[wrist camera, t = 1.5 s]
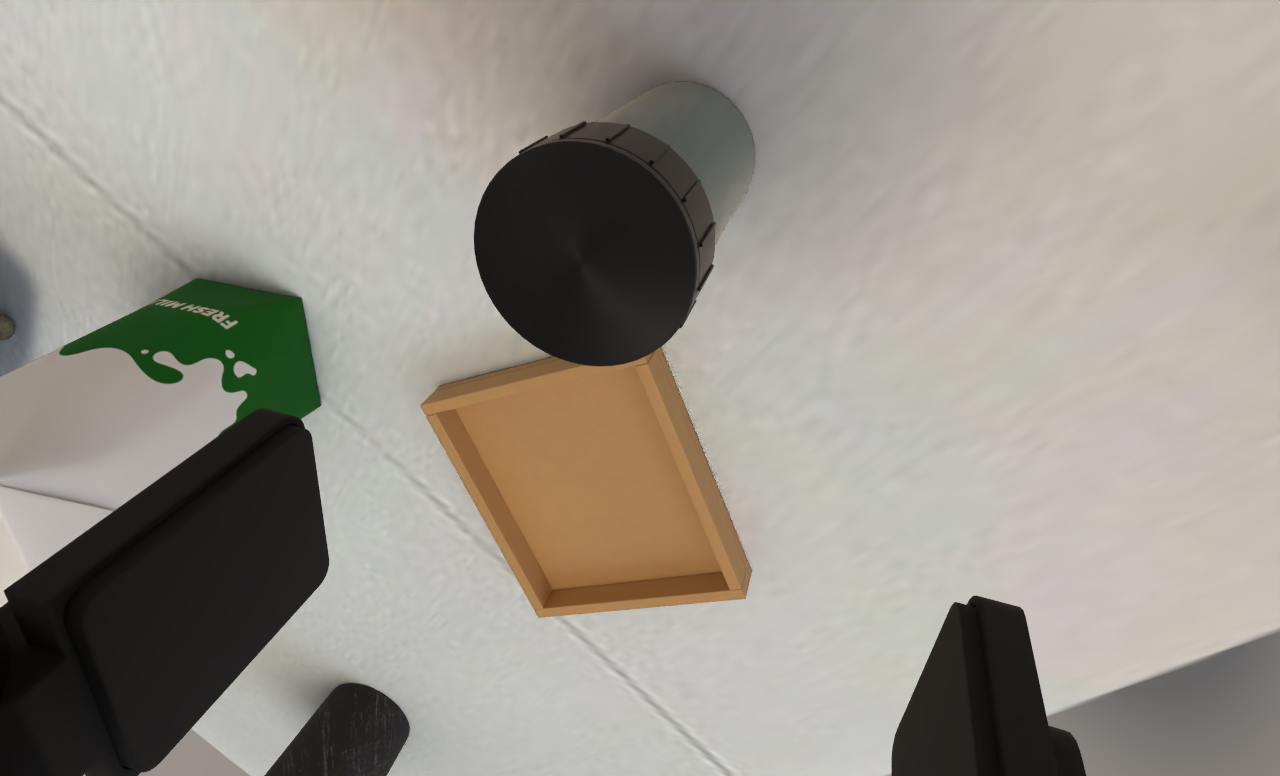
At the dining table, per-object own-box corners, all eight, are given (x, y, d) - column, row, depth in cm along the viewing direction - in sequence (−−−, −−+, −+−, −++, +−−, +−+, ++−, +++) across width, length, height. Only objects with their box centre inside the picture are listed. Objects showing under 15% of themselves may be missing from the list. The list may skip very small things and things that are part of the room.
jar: (593, 111, 33) (456, 189, 23) (727, 57, 31) (642, 117, 20) (644, 244, 35) (542, 369, 25) (774, 204, 33) (718, 325, 23)
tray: (439, 385, 43) (419, 405, 41) (654, 330, 38) (641, 350, 36) (551, 592, 49) (538, 618, 47) (752, 571, 43) (746, 599, 42)
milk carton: (313, 285, 42) (-67, 510, 25) (337, 423, 47) (29, 688, 30) (179, 259, 44) (-257, 454, 27) (215, 394, 49) (-139, 630, 32)
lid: (475, 163, 25) (433, 186, 22) (670, 86, 22) (644, 102, 20) (561, 350, 27) (532, 387, 25) (746, 303, 24) (730, 339, 22)
